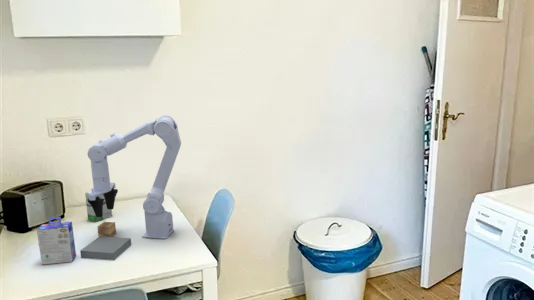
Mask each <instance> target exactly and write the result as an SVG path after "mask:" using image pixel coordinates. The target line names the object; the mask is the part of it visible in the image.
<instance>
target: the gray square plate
mask: <svg viewBox="0 0 534 300" xmlns="http://www.w3.org/2000/svg"><path fill="white" fill-rule="evenodd" d="M131 246H132V239H131V237H120V236H114V237H107V236H98V237H96V238H95V239H93V241H91V242H90V243H88V244H87V245H85V247H83V248H82V249H80V250H79V252H80V253H79V254H80V258H81V259H95V260H107V261H115V260H116V259H117V258H119V257H120V255H122V254H123V253H124V252H125V251H126V250H128V248H130V247H131Z"/></svg>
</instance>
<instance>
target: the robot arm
mask: <svg viewBox="0 0 534 300" xmlns="http://www.w3.org/2000/svg"><path fill="white" fill-rule="evenodd" d="M145 135H149V136H154V135H156V136H157V137H158V138H159V139H161V140H162V142H163V143H164V145H165V146H166V147H165V151H164V154H163V157H162V160H161V161H160V164H159V167H158V170H157V172H156V173H157V174H156V176H155V178H154V182H153V185H152V187H151V190H150V191H149V193H148V194H147V195H146V198H145V200H144V201H143V203H142V209H143V211H144V220H145V221H144V222H145V223H144V224H145V233H143V235H141V238H148V239H164V240H165V239H167V238H168V237H169V236H171V234H173V233H174V231H175V229H174V222H173V214H172V212H170V211H167V210H165V206H164V205H163V203H164V201H165V195H164V194H165V191H166V187H167V186H168V185H167V184H168V181H169V179H170V176H171V173H172V171H173V168H174V165H175V163H176V160H177V157H178V155H179V151H180V149H181V145H182V141H181V138H180V136H181V135H180V133H179V128H178V124H177V122H176V121H175V120H174V118H172V117H171V116H170V115H163V116H160V117H159V118H154V119H152V120H149V121H147V122H144V123H143V124H141V125H139V126H137V127H135V128H134V129H131V130H129V131H128V132H126V133H124V134H123V133H122V134H121V133H120V132H119V133H112V134H110V136H109V137H107V138H105V139H101V140H98V142H97V143H95V144H93V145H91V147H90V148H88V151H87V157H88V159H89V161H90V168H91V179H92V185H93V187H92V188H91V190H90V191H92V192H91V194H89V198H88V199H87V200H88V202H89V204H90V205H91V206H92V208H93V210H94V212H95V215H96V217H102V216H103V202H104V199H100V198H99V196H101V195H102V194H103V195H104V198H105V201H106V206H107V209H112V210H114V207H115V200H116V197H117V194H118V192H119V191H118V190H119V189H118V188H116V182H111V181H110V180H111V178H110V177H111V176H110V169H109V164H108V163H109V162H108V156H112V155H114V154H116V153H119V151H122V150H123V149H126V148H127V145H128V143H130V142H132V141H134V140H137V139H138V138H141V137H143V136H145Z"/></svg>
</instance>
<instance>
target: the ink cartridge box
mask: <svg viewBox="0 0 534 300" xmlns="http://www.w3.org/2000/svg"><path fill="white" fill-rule="evenodd" d="M48 219H49V220H48V223H45V224H44V223H43V224H40V226H39V227H38V229H36V232H37V233H36V234H37V240H38V247H39V254H40V262H41V265H50V264H52V265H53V264H60V263H70V262H71V263H72V262H73V261H74V259H75V258H76V256H77V251H76V245H75V236H74V229H73V228H74V227H73V222H72V221H64V222H63V221H62V218H61V216H52V217H49V218H48ZM53 220H57V221H53Z"/></svg>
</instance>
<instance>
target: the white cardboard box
mask: <svg viewBox="0 0 534 300" xmlns="http://www.w3.org/2000/svg"><path fill="white" fill-rule="evenodd" d="M91 192H92V191H91V190H87V191H86V192H85V195H84V196H85V202H86V214H87V221H89V222H93V223H96V222H99V221H102V220H105V219H109V218H110V217H113V209H107V206H106V201H105V198H104V195H103V194H102V195H101V196H99V198H100V199H104V202H103V216H102V217H96V215H95V212H94V210H93V208H92V206H91V205H90V204H89V202H88V200H87V199H88V198H89V194H91Z"/></svg>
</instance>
